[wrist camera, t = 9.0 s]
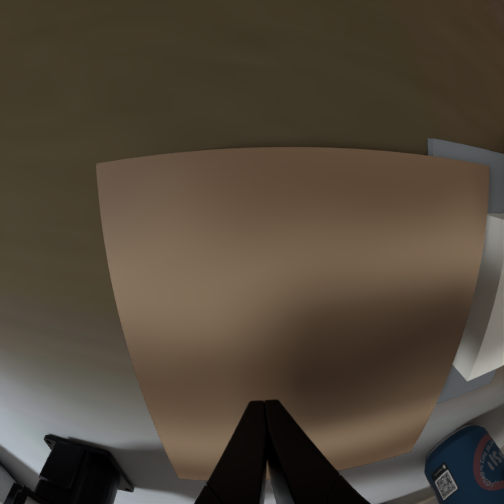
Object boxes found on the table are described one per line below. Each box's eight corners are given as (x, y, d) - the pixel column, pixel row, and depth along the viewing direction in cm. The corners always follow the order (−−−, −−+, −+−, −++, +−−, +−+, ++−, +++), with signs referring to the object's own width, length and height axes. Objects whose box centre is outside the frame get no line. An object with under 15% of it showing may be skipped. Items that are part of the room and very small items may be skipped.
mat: (487, 379, 15) (490, 382, 15) (383, 415, 15) (385, 419, 15) (536, 165, 11) (540, 165, 10) (427, 138, 11) (432, 138, 10)
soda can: (490, 414, 17) (545, 492, 6) (452, 459, 19) (492, 534, 8) (448, 424, 17) (507, 525, 5) (406, 471, 18) (445, 564, 7)
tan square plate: (386, 405, 15) (410, 451, 11) (187, 423, 15) (178, 478, 11) (428, 160, 11) (489, 165, 7) (143, 162, 11) (95, 163, 7)
